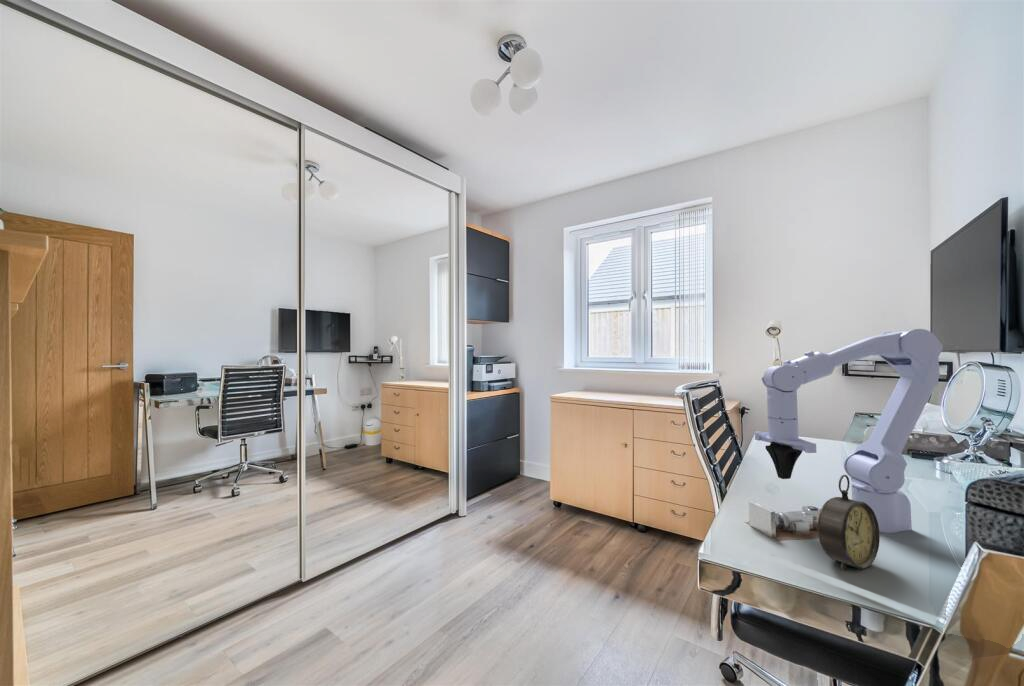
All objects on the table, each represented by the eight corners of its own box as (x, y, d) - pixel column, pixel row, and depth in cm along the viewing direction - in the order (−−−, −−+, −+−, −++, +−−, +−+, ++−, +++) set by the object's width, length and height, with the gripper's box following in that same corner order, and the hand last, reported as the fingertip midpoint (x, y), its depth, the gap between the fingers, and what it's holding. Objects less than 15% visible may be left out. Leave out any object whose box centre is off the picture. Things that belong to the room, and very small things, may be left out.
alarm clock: (848, 582, 64) (844, 482, 65) (811, 567, 69) (808, 474, 70) (883, 569, 68) (879, 475, 69) (847, 555, 73) (843, 467, 74)
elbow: (812, 522, 85) (811, 504, 85) (828, 529, 82) (827, 510, 82) (772, 526, 83) (772, 507, 83) (787, 533, 80) (787, 513, 80)
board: (813, 522, 88) (813, 518, 88) (853, 540, 79) (852, 535, 79) (744, 526, 86) (744, 521, 86) (777, 545, 77) (777, 540, 77)
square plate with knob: (786, 522, 85) (786, 499, 86) (811, 534, 80) (810, 509, 80) (749, 524, 84) (748, 501, 85) (771, 537, 78) (770, 511, 79)
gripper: (743, 414, 96) (744, 470, 95) (795, 423, 82) (797, 489, 81) (768, 413, 97) (770, 468, 96) (823, 422, 83) (826, 487, 82)
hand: (784, 478), depth 89 cm, fingers closed
